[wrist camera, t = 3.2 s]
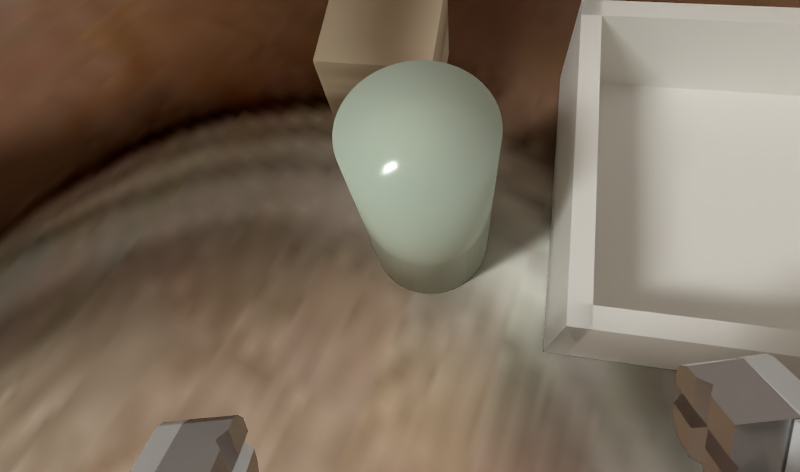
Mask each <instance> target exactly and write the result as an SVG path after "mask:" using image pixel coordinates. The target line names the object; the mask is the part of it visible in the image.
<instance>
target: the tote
mask: <svg viewBox="0 0 800 472" xmlns="http://www.w3.org/2000/svg"><path fill="white" fill-rule="evenodd" d="M543 352H549V353H556V354H563V355H570V356H577V357H584V358H591V359H599V360H606V361H613V362H620V363H627V364H634V365H641V366H649V367H656V368H663V369H670V370H677V369H678V367H679V365H683V364H691V363H700V362H708V361H717V360H725V359H735V358H737V357H743V356H751V355H758V354H765V353H766V354H769V355H771V356H774V357H775V358H776V359H777V360H778V361H780V362H781V363H782V364H783V365H784V366H785V367H786V368H787V369H788V370H789V371H790V372H792V373H793V374H794V375H795V376H796V377H797V378H798V379H799V380H800V8H789V7H764V6H738V5H713V4H688V3H663V2H637V1H612V0H582V1H581V5H580V8H579V12H578V15H577V19H576V23H575V26H574V30H573V33H572V37H571V41H570V44H569V48H568V51H567V55H566V59H565V62H564V66H563V69H562V73H561V77H560V88H559V104H558V120H557V136H556V152H555V168H554V184H553V200H552V216H551V232H550V248H549V264H548V280H547V296H546V312H545V328H544V344H543Z"/></svg>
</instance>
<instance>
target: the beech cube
mask: <svg viewBox="0 0 800 472" xmlns="http://www.w3.org/2000/svg"><path fill="white" fill-rule="evenodd" d="M448 56H449V34H448V0H329V2H328V6H327V9H326V13H325V17H324V20H323V24H322V28H321V32H320V35H319V39H318V43H317V47H316V50H315V54H314V58H313V63H314V66H315V68H316V71H317V74H318V76H319V79H320V82H321V84H322V87H323V90H324V92H325V95H326V97H327V100H328V103H329V105H330V108H331V111H332V113H333V116H334V119H335V117H336V114H337V112H338V110H339V108H340V105H341V104H342V102H343V101H344V99H345V98H346V96H347V95H348V94H349V93H350V91H351V90H352V89H353V88H354V87H355V86H356V85H357V84H358V83H359V82H361V81H362V80H363V79H365V78H366V77H367V76H369V75H371V74H372V73H374V72H376V71H378V70H380V69H382V68H385V67H387V66H390V65H393V64H396V63H401V62H406V61H415V60H430V61H438V62H443V63H447V62H448Z"/></svg>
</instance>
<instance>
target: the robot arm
mask: <svg viewBox="0 0 800 472" xmlns="http://www.w3.org/2000/svg"><path fill="white" fill-rule="evenodd" d="M675 384H676V385H677V386H678V388H679V389H680V391H681V392H682V394H681V395H680V396H679V397H678V399H677V400H676V401H675V402H674V412H673V418H674V423H675V428H676V432H677V435H678V437H679V440H680V442H681V444H682V446H683V448H684V449H685V451H686V452H687V454H688V456H689V457H691V458H693V459H694V460H696V461H698V462H699V463H701V464H703V472H800V380H799V379H798V378H797V377H796V376H795V375H794V374H793V373H792V372H790V371H789V370H788V369H787V368H786V367H785V366H784V365H783V364H782V363H781V362H780V361H778V360H777V359H776V358H775V357H774V356H771V355H769V354H766V353H765V354H758V355H751V356H743V357H737V358H735V359H725V360H717V361H708V362H700V363H691V364H683V365H679V367H678V369H677V371H676V379H675ZM247 432H248V430H247V427H246V424H245V422H244V419H243V417H241V416H239V415H232V416H220V417H209V418H198V419H189V420H181V421H170V422H163V423H162V424H160V425H158V426H157V427H156V428H155V430H154V432H153V433H152V435H151V437H150V438H149V440H148V442H147V443H146V445H145V447H144V448H143V450H142V452H141V453H140V455H139V457H138V458H137V460H136V462H135V463H134V465H133V467H132V468H131V470H130V472H259V469H258V462H257V457H256V454H255V451H254V448H252V447H251V446H250V445H248V444H247V443H246V442H244V441H245V438H246V435H247Z"/></svg>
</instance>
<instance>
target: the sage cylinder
mask: <svg viewBox="0 0 800 472" xmlns="http://www.w3.org/2000/svg"><path fill="white" fill-rule="evenodd" d="M502 133H503V125H502V117H501V113H500V110H499V107H498V105H497V103H496V100H495V98H494V97H493V95H492V94H491V92H490V91H489V90H488V89H487V87H486V86H485V85H484V84H483V83H482V82H481V81H479V80H478V79H477V78H476V77H475V76H473V75H472V74H470V73H469V72H467V71H465V70H463V69H461V68H459V67H456V66H453V65H451V64H447V63H443V62H438V61H430V60H415V61H406V62H401V63H396V64H393V65H390V66H387V67H385V68H382V69H380V70H378V71H376V72H374V73H372V74H371V75H369V76H367V77H366V78H365V79H363V80H362V81H361V82H359V83H358V84H357V85H356V86H355V87H354V88H353V89H352V90H351V91H350V93H349V94H348V95H347V96H346V98H345V99H344V101H343V102H342V104H341V105H340V108H339V110H338V112H337V114H336V117H335V121H334V125H333V131H332V143H333V150H334V154H335V157H336V160H337V163H338V165H339V167H340V170H341V172H342V174H343V177H344V179H345V181H346V184H347V186H348V188H349V191H350V193H351V195H352V198H353V200H354V202H355V205H356V207H357V209H358V212H359V214H360V216H361V219H362V221H363V224H364V226H365V228H366V231H367V233H368V235H369V238H370V240H371V242H372V245H373V247H374V249H375V252H376V254H377V256H378V259H379V261H380V263H381V265H382V267H383V269H384V270H385V272H386V273H387V274H388V275H389V276H390V278H392V279H393V280H394V281H395V282H396V283H398V284H399V285H401V286H402V287H404V288H407V289H409V290H412V291H415V292H419V293H427V294H434V293H442V292H446V291H449V290H453V289H455V288H457V287H459V286H461V285H462V284H464V283H465V282H466V281H468V280H469V279H470V278H471V277H472V276H473V275H474V274H475V273H476V271H477V270H478V268H479V267H480V265H481V263H482V261H483V259H484V256H485V253H486V247H487V241H488V234H489V227H490V220H491V213H492V206H493V199H494V192H495V185H496V178H497V171H498V164H499V157H500V149H501V142H502Z"/></svg>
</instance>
